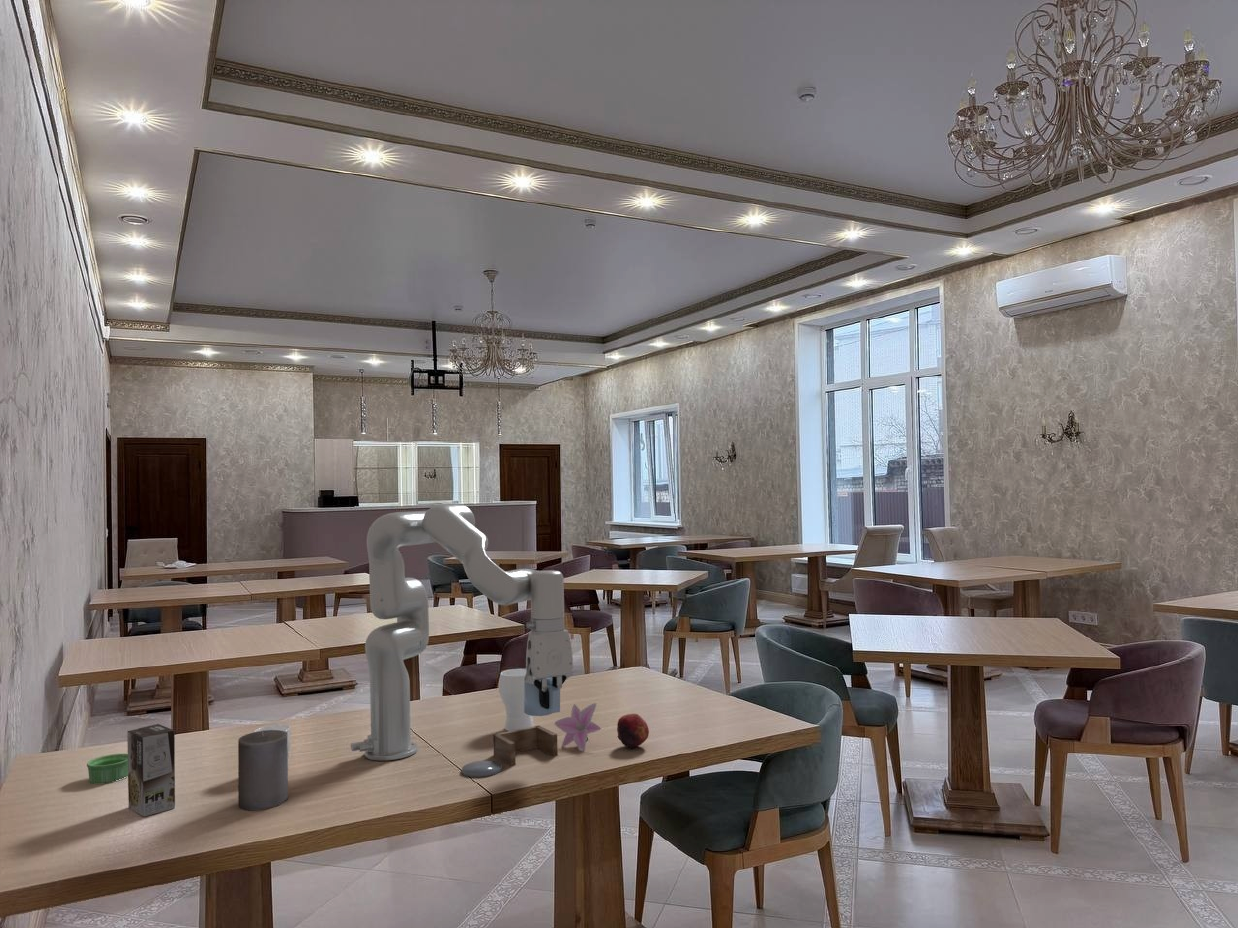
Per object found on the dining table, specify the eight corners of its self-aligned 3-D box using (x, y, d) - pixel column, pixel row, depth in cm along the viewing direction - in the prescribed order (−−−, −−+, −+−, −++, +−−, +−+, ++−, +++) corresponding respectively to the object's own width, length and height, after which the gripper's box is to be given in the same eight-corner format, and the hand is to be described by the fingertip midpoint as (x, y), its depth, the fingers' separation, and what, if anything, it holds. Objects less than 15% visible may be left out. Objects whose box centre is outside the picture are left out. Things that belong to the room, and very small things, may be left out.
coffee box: (176, 808, 171) (175, 729, 172) (142, 817, 167) (142, 737, 167) (160, 798, 177) (159, 722, 178) (127, 807, 173) (126, 729, 173)
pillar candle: (231, 802, 174) (230, 730, 174) (277, 789, 181) (276, 720, 181) (249, 814, 167) (248, 740, 167) (296, 801, 174) (295, 729, 174)
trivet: (471, 779, 183) (471, 776, 183) (456, 769, 191) (456, 765, 191) (508, 771, 188) (508, 767, 188) (492, 761, 196) (492, 757, 196)
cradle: (510, 765, 192) (510, 743, 192) (493, 755, 200) (493, 734, 201) (557, 755, 199) (557, 734, 199) (539, 745, 207) (538, 725, 207)
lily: (552, 743, 212) (544, 716, 207) (590, 719, 217) (582, 691, 213) (578, 769, 202) (570, 741, 198) (616, 743, 208) (609, 714, 204)
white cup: (251, 780, 187) (251, 735, 188) (257, 769, 195) (256, 726, 195) (288, 776, 190) (288, 732, 190) (292, 765, 197) (292, 723, 197)
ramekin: (92, 775, 194) (92, 756, 195) (135, 769, 198) (135, 751, 198) (82, 787, 186) (82, 767, 186) (128, 781, 189) (128, 762, 189)
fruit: (654, 744, 205) (653, 712, 205) (639, 753, 198) (638, 720, 198) (627, 740, 209) (626, 709, 209) (611, 749, 202) (610, 716, 202)
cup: (536, 733, 218) (535, 675, 218) (496, 734, 218) (495, 676, 218) (541, 722, 228) (539, 667, 229) (503, 722, 229) (501, 668, 229)
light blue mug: (542, 723, 183) (542, 688, 183) (518, 709, 193) (519, 675, 192) (570, 718, 187) (570, 683, 186) (545, 704, 196) (545, 671, 196)
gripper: (524, 631, 180) (525, 716, 180) (586, 623, 189) (588, 704, 188) (509, 627, 187) (511, 709, 186) (570, 619, 195) (571, 698, 195)
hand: (549, 706), depth 187 cm, fingers closed on light blue mug
